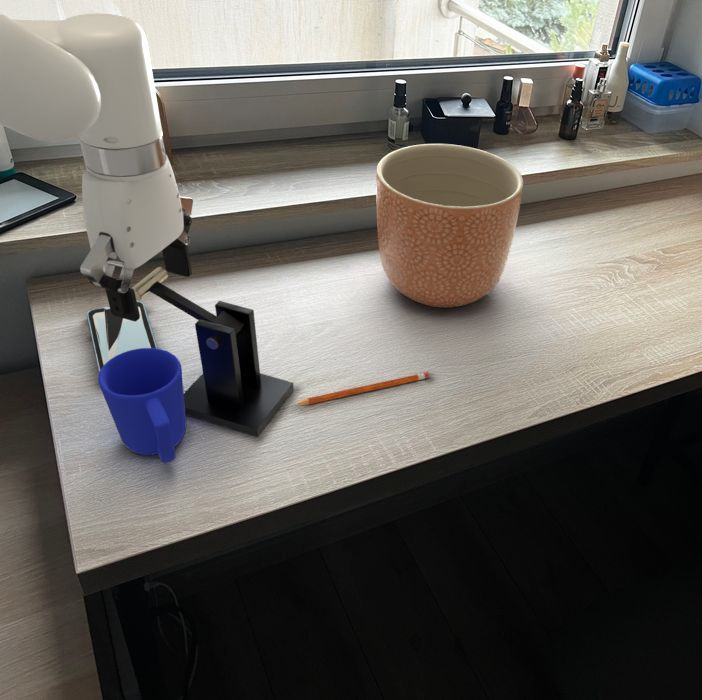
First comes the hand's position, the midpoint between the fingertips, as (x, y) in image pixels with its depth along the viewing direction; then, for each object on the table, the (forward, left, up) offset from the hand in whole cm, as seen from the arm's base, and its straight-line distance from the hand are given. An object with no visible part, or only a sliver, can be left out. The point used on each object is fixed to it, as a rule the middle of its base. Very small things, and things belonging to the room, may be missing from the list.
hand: (153, 294), depth 82 cm
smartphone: (-10, +4, -13) cm, 17 cm away
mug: (+5, -10, -13) cm, 18 cm away
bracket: (+9, 0, -13) cm, 16 cm away
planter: (+24, +35, -13) cm, 44 cm away
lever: (+4, 0, -2) cm, 4 cm away
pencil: (+23, +8, -13) cm, 27 cm away
